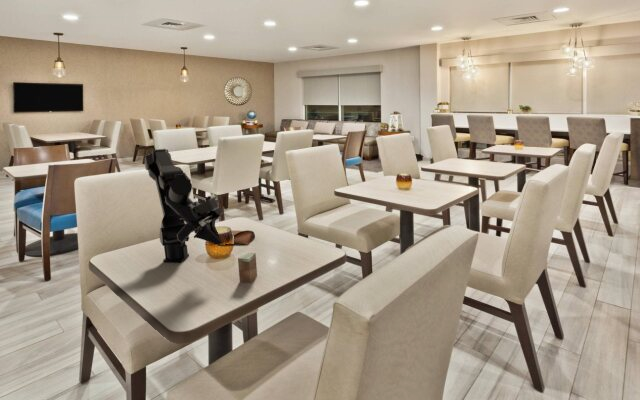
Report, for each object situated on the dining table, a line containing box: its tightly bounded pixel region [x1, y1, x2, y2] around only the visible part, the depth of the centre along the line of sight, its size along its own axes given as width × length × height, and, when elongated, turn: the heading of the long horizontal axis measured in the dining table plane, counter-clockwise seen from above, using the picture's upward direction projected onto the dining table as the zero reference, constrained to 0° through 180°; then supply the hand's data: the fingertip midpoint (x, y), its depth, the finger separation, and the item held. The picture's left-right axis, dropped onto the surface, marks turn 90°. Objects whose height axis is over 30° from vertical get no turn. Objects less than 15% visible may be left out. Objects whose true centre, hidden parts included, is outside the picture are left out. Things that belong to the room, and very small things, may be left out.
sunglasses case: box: [232, 229, 256, 246], centre depth 159 cm, size 18×7×7 cm, turn 84°
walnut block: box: [237, 251, 258, 284], centre depth 125 cm, size 4×5×8 cm
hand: (221, 243), depth 125 cm, fingers closed
